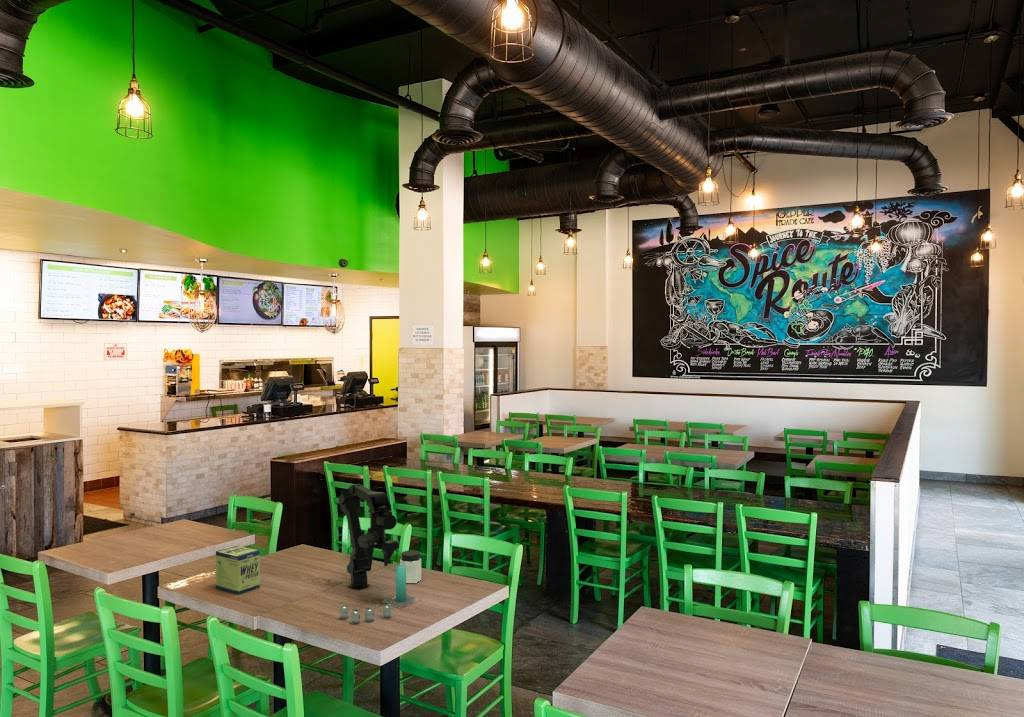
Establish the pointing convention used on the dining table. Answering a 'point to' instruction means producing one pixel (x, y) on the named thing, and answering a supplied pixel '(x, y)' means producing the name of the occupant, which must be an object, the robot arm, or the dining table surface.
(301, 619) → the dining table surface
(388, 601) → the mat
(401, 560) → the jar
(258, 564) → the protein box
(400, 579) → the teal dowel
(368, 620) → the spacer posts
